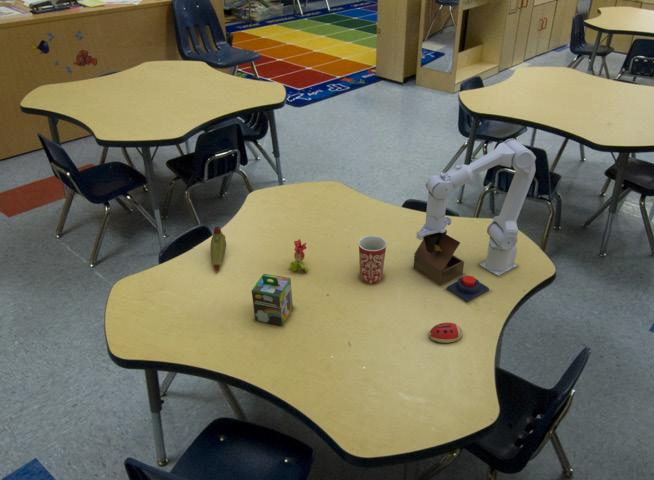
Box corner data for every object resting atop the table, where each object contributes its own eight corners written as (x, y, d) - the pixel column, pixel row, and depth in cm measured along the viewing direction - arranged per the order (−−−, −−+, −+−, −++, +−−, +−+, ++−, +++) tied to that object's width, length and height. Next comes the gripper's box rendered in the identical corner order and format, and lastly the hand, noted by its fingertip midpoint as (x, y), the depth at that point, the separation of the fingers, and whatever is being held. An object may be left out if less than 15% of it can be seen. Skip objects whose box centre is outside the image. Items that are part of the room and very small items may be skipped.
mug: (384, 286, 188) (386, 251, 181) (356, 284, 189) (357, 249, 182) (386, 264, 198) (387, 230, 191) (359, 262, 199) (360, 228, 192)
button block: (468, 278, 191) (469, 270, 189) (488, 290, 185) (489, 283, 183) (446, 289, 186) (447, 281, 184) (467, 302, 180) (468, 295, 178)
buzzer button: (468, 278, 186) (468, 273, 185) (477, 284, 183) (478, 279, 182) (459, 282, 184) (459, 278, 183) (469, 288, 181) (469, 284, 180)
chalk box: (293, 308, 179) (291, 268, 171) (282, 326, 172) (279, 286, 164) (265, 302, 182) (262, 263, 174) (253, 320, 174) (249, 280, 167)
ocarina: (224, 274, 195) (221, 248, 190) (208, 274, 195) (205, 249, 190) (228, 242, 212) (225, 218, 207) (213, 242, 212) (210, 219, 207)
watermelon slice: (466, 341, 165) (467, 331, 163) (433, 347, 163) (434, 337, 161) (456, 326, 171) (457, 316, 169) (424, 331, 169) (425, 322, 167)
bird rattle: (289, 268, 201) (288, 274, 192) (289, 236, 199) (287, 240, 190) (307, 268, 201) (307, 274, 192) (307, 236, 199) (306, 240, 190)
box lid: (432, 226, 192) (426, 222, 190) (460, 242, 184) (454, 238, 181) (414, 254, 193) (408, 251, 190) (442, 272, 185) (436, 268, 182)
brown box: (435, 258, 201) (436, 245, 198) (462, 274, 192) (464, 261, 190) (413, 268, 196) (414, 255, 193) (440, 286, 187) (441, 272, 185)
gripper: (430, 226, 173) (426, 264, 181) (460, 210, 181) (456, 247, 189) (412, 217, 178) (409, 254, 185) (442, 202, 186) (439, 238, 193)
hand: (431, 250), depth 187 cm, fingers closed on box lid, 2 cm apart
